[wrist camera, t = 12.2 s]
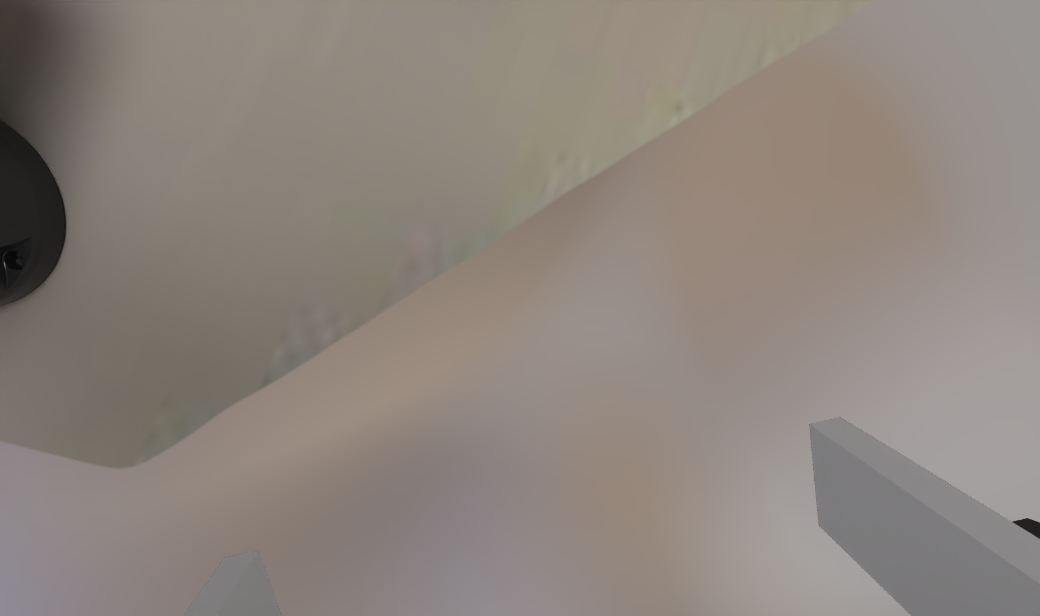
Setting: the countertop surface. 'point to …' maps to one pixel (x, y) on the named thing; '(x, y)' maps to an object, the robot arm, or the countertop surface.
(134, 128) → the countertop surface
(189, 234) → the countertop surface
